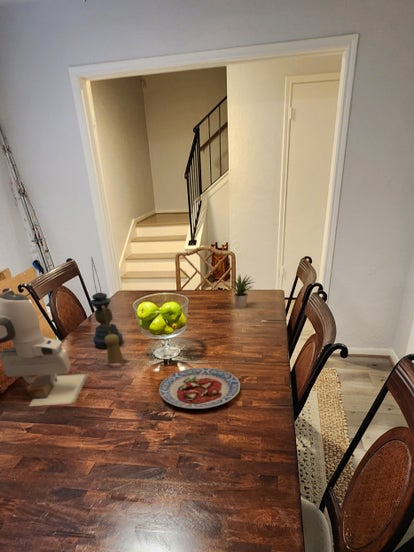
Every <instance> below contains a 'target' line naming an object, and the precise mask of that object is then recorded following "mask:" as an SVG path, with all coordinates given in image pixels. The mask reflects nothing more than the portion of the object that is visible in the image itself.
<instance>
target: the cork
mask: <svg viewBox="0 0 414 552" xmlns="http://www.w3.org/2000/svg"><path fill="white" fill-rule="evenodd" d="M105 343H106V344H107V349H106V352H107V353H106V354H107V362H108V363H109V364H121V365H122V364H124V363H125V360H124V359H125V358H124V356H123V354H122V350H121V347H120V345H119V344H118V343H119V337H118V336H117V335H115V334H110V335H107V336H106V337H105Z"/></svg>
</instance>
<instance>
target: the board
mask: <svg viewBox="0 0 414 552" xmlns="http://www.w3.org/2000/svg"><path fill="white" fill-rule="evenodd" d="M88 376H89V373H74V374H57V375H56V377H57V382H56V385H55V386H54V387H53V389H52V390H51V392H50V393H49V395H48V397H47V398H43V399H31V401H30V404H29V405H28V407H39V406H40V407H41V406H54V405H56V406H57V405H68V404H69V405H71V404H75V402H77V401H76V400H77V398H78V397H79V395H80V393H81V390H82V388H83V387H84V384H85V382H86V380H87V378H88Z"/></svg>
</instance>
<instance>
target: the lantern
mask: <svg viewBox="0 0 414 552" xmlns="http://www.w3.org/2000/svg"><path fill="white" fill-rule="evenodd" d="M90 259H91V268H92V269H91V270H94V271H95V274H96V278H97V281H98V285H99V291H100V292H98V291H97V285H96V282H95V274H94V272H92V278H93V284H94V289H95V293H94V294H93V295H91V297H92V300H90V304H91V305H92V307H94V308H95V311H94V317H95V320H96V322H97V323H99V325H97V326H96V327H95V332H94V336H93V343H94V345H95V346H96V348H98V349H100V350H101V349H102V350H107V344H106V343H105V337H106V336H107V335H110V334H115V335H117V336H118V337H119V343H118V344H119V346H120V345H122V343H123V334H122V333H121V332H119V329H118V328H117V325H116V324H114V323H112V320H113V317H114V316H113V312H112V310H111V309H110V308H109V305H110V304H111V301H112V299H111V298H109V297H108V295H107V293H104V292H102V289H101V288H102V287H101V284H100V279H99V276H98V273H97V269H96V265H95V262H94V258H93V256H91V257H90Z"/></svg>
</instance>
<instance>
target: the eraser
mask: <svg viewBox="0 0 414 552" xmlns="http://www.w3.org/2000/svg"><path fill="white" fill-rule="evenodd" d="M50 379H52V377H50V375H36V378H35V379H33V380H34V382H33V383H32V384H31V386H30V385H29V387H28V389H27V393H28V395H29V398H30V400H33V399H43V398H47V397H48V395H49V393H50V392H51V390H52V389H53V387H54V386H50V384H49V381H50ZM55 382H57V377H56V378H55Z"/></svg>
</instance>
